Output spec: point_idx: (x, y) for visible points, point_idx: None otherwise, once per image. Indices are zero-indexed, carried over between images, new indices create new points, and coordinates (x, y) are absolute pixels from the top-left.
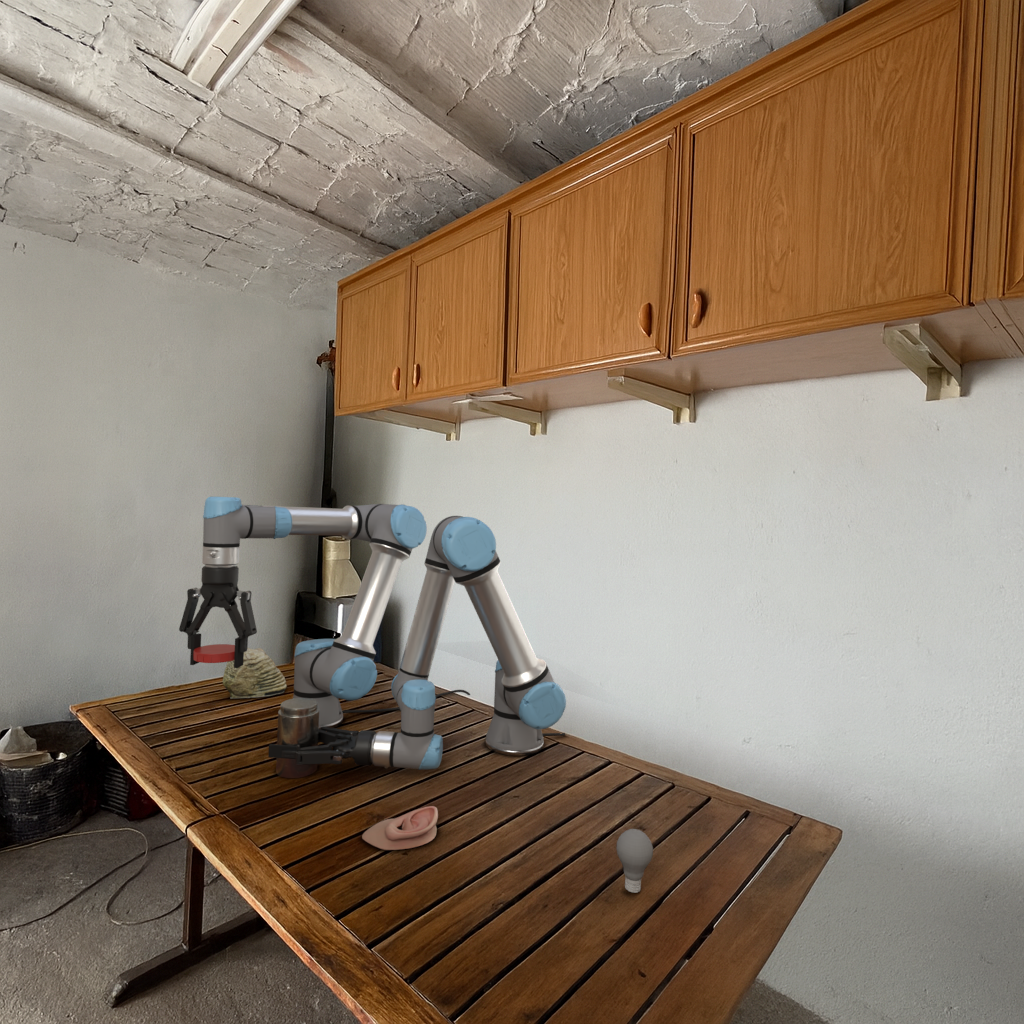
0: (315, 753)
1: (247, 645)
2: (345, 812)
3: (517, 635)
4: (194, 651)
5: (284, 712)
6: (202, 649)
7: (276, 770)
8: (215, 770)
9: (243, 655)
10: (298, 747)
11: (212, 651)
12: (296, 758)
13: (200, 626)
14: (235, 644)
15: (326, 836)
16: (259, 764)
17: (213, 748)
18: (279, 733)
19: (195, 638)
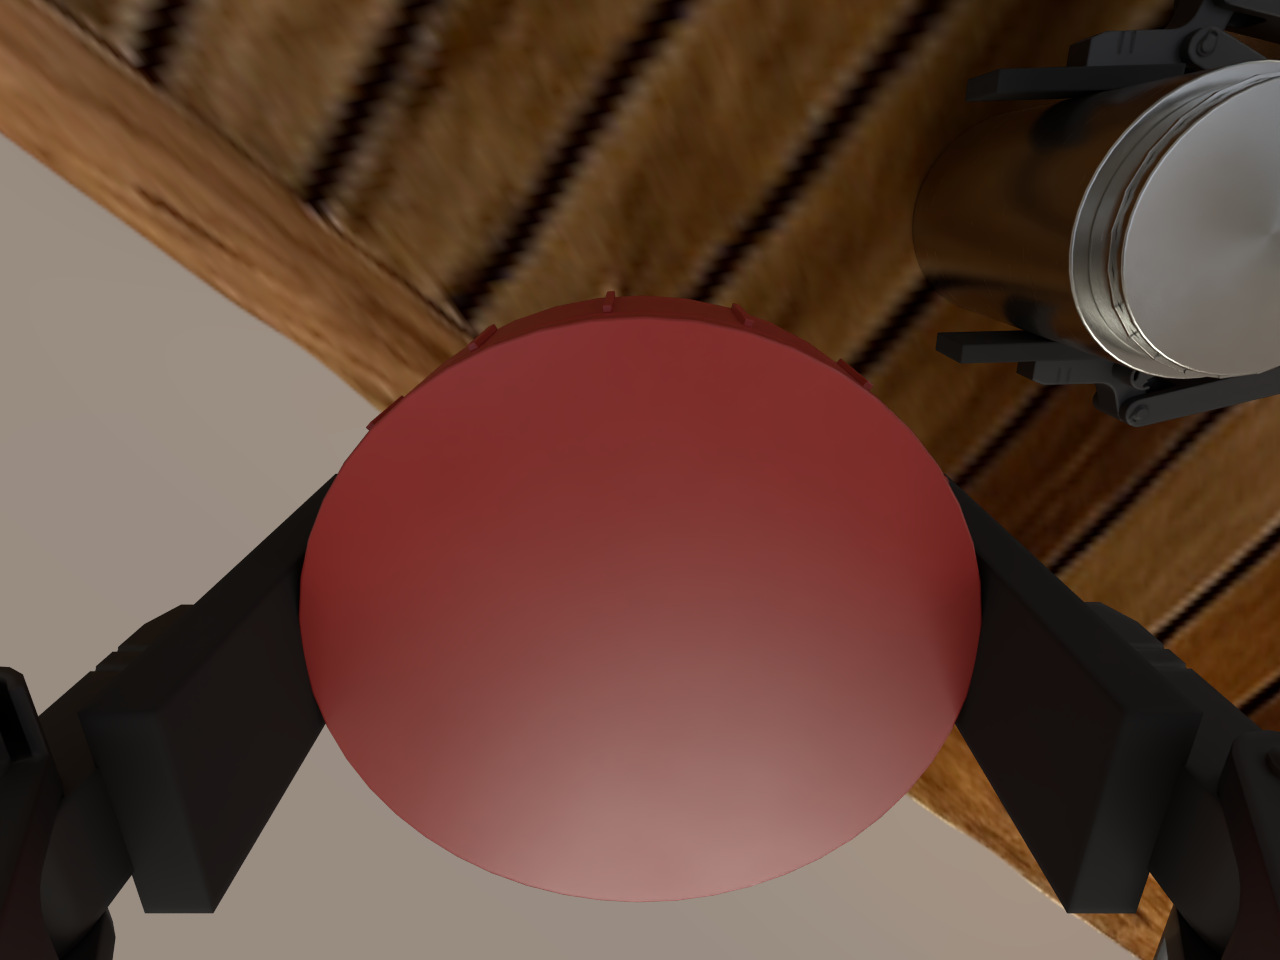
0: (1225, 406)
1: (1175, 661)
2: (1265, 545)
3: None
4: (423, 835)
5: (1141, 350)
6: (451, 729)
7: (926, 273)
8: (634, 290)
9: (998, 526)
10: (1139, 388)
11: (651, 786)
12: (1111, 415)
13: (17, 887)
14: (1025, 823)
15: (1210, 683)
16: (807, 185)
17: (470, 15)
18: (1031, 322)
19: (232, 834)
